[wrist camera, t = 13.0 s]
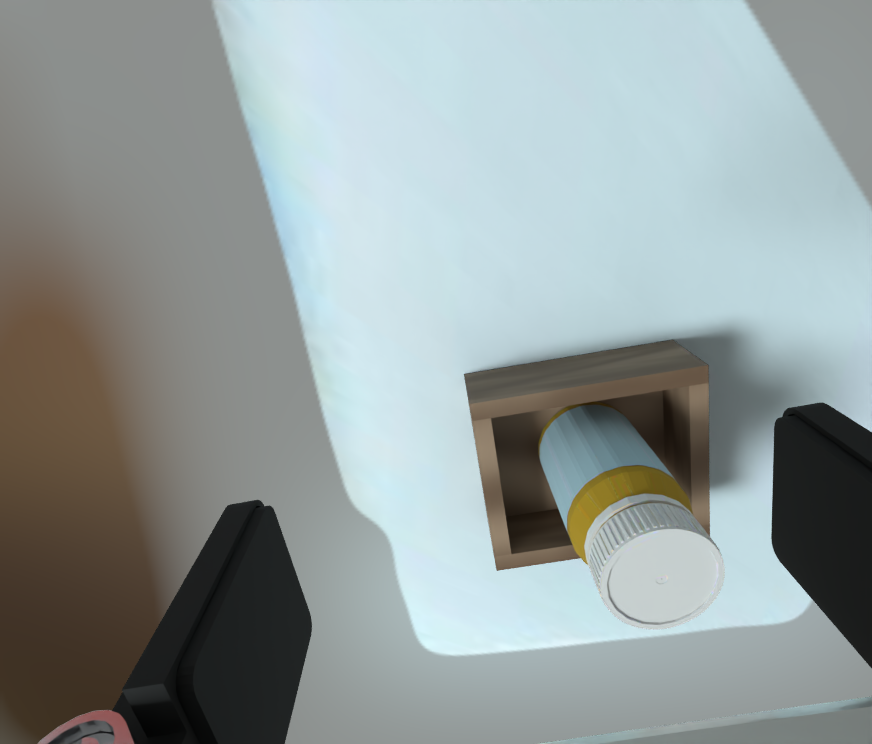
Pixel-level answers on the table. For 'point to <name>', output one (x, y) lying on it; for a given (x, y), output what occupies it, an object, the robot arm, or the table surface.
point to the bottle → (628, 519)
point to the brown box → (569, 385)
